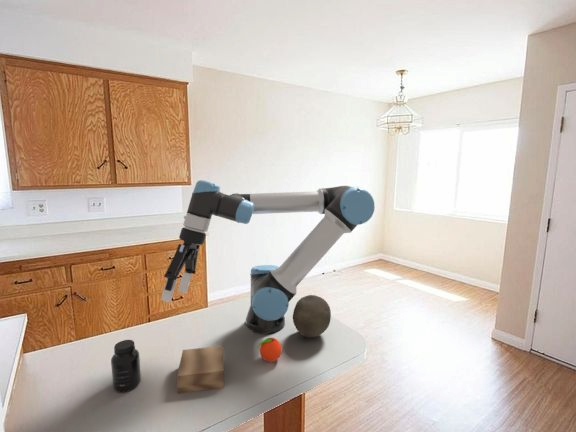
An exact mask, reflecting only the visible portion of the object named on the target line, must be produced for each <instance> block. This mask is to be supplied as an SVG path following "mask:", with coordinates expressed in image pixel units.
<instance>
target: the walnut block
mask: <svg viewBox="0 0 576 432" xmlns="http://www.w3.org/2000/svg"><path fill="white" fill-rule="evenodd" d="M224 350H225V349H224V345H218V346H209V347H200V348H189V349H183V350H182V353H181V357H180V362H179V366H178V370H177V375H176V380H177V381H176V382H177V383H176V384H177V387H176V388H177V394H182V393H190V392H198V391H207V390H213V389H222V388H224V387H225V381H224V380H225V373H224V372H225V371H224V370H225V366H224V365H225V364H224V363H225V362H224V359H225V356H224V354H225V353H224V352H225V351H224Z"/></svg>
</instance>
